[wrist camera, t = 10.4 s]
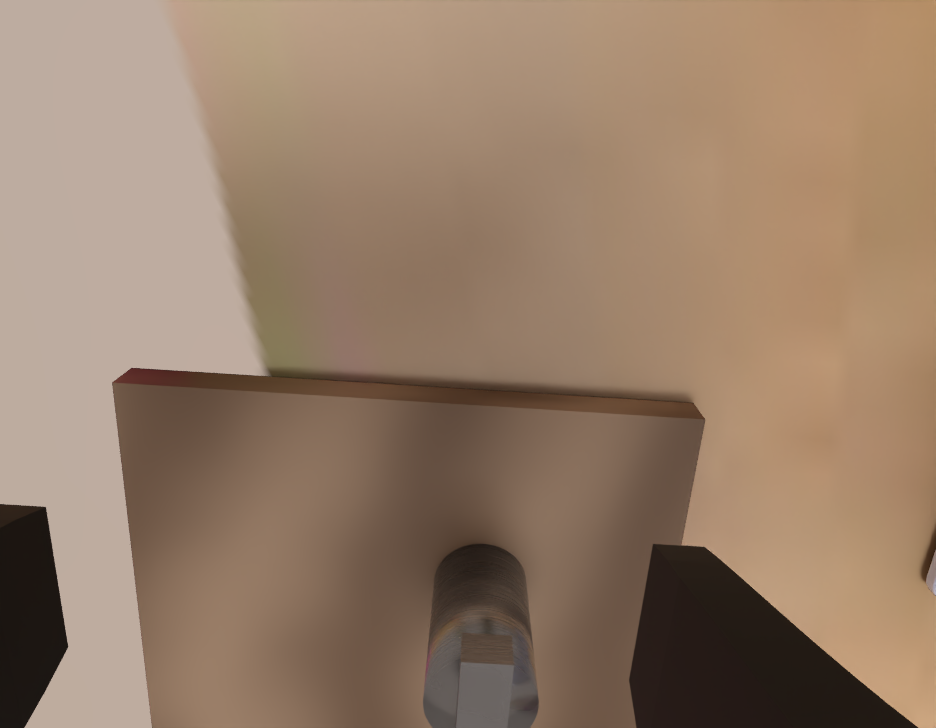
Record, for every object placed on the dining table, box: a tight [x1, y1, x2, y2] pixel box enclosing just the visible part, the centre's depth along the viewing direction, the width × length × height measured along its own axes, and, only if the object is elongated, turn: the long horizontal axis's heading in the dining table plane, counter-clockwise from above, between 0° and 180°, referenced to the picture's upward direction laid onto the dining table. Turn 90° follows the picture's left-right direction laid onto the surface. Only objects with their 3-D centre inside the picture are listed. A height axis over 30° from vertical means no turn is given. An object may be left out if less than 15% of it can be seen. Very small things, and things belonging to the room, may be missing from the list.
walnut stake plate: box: [112, 368, 705, 728], centre depth 19 cm, size 14×12×1 cm
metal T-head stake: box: [423, 544, 539, 728], centre depth 16 cm, size 2×4×5 cm, turn 177°
